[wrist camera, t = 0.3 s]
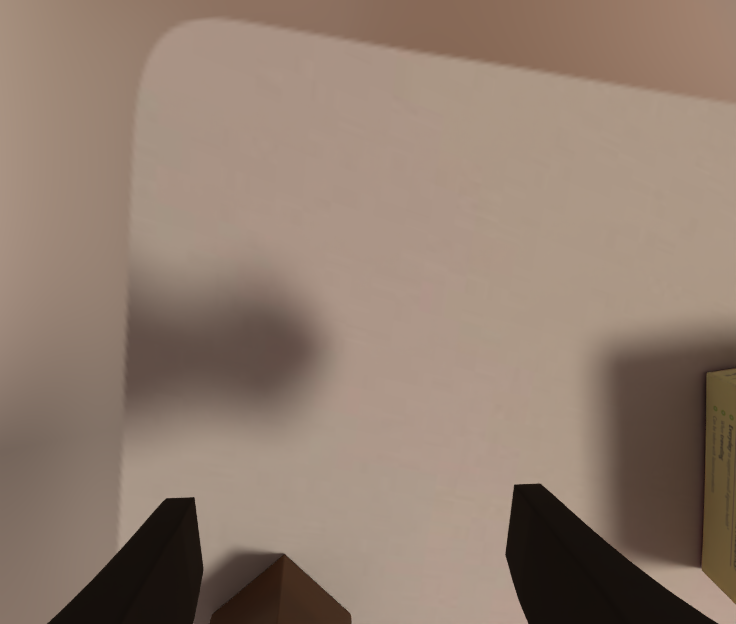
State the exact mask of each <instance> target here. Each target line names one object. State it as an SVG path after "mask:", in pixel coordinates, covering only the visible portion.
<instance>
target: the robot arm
mask: <svg viewBox="0 0 736 624" xmlns="http://www.w3.org/2000/svg"><path fill="white" fill-rule="evenodd" d="M505 555H506V558H507V562H508V566H509V569H510V573H511V576H512V580H513V583H514V586H515V590H516V593H517V596H518V599H519V602H520V604H521V607H522V609H523V612H524V614H525V617H526V619H527V621H528V624H718V623H716V622H715V621H713V620H711V619H710V618H708V617H707V616H705V615H704V614H702V613H701V612H699V611H698V610H696V609H695V608H694V607H692V606H691V605H689V604H688V603H686V602H685V601H683V600H682V599H680V598H679V597H677V596H676V595H674V594H673V593H672V592H670V591H669V590H667V589H666V588H665V587H663V586H662V585H660V584H659V583H658V582H656V581H655V580H654V579H652V578H651V577H650V576H649V575H647V574H646V573H645V572H643V571H642V570H641V569H639V568H638V567H637V566H636V565H634V564H633V563H632V562H630V561H629V560H628V559H627V558H625V557H624V556H623V555H622V554H621V553H619V552H618V551H617V550H616V549H614V548H613V547H612V546H611V545H610V544H608V543H607V542H606V541H605V540H604V539H603V538H601V537H600V536H599V535H598V534H597V533H596V532H594V531H593V530H592V529H591V528H590V527H589V526H588V525H586V524H585V523H584V522H583V521H582V520H581V519H580V518H578V517H577V516H576V515H575V514H574V513H573V512H572V511H571V510H569V509H568V508H567V507H566V506H565V505H564V504H563V503H562V502H561V501H559V500H558V499H557V498H556V497H555V496H554V495H553V494H552V493H551V492H549V491H548V490H547V489H546V488H545V487H544V486H542V485H541V484H519V485H514V491H513V499H512V507H511V515H510V523H509V530H508V538H507V546H506V554H505ZM202 575H203V561H202V553H201V546H200V538H199V530H198V522H197V514H196V506H195V498H194V497H190V498H166V499H165V500H164V501H163V502H162V503H161V504H160V505H159V506H158V508H157V509H156V510H155V511H154V512H153V513H152V514H151V516H150V517H149V518H148V519H147V520H146V521H145V523H144V524H143V525H142V526H141V527H140V528H139V529H138V531H137V532H136V533H135V534H134V535H133V536H132V537H131V539H130V540H129V541H128V542H127V543H126V544H125V545H124V546H123V548H122V549H121V550H120V551H119V552H118V553H117V554H116V555H115V556H114V557H113V558H112V559H111V560H110V562H109V563H108V564H107V565H106V566H105V567H104V568H103V569H102V570H101V571H100V572H99V573H98V575H97V576H96V577H95V578H94V579H93V580H92V581H91V582H90V583H89V584H88V585H87V586H86V587H85V588H84V589H83V590H82V591H81V592H80V593H79V594H78V595H77V596H76V597H75V598H74V599H73V600H72V601H71V602H70V603H69V604H67V606H65V608H63V609H62V610H61V611H60V612H59V613H58V614H57V615H56V616H55V617H54V618H53V619H52V620H51V621H50V622H49V623H47V624H193V621H194V617H195V612H196V607H197V602H198V597H199V592H200V586H201V580H202Z"/></svg>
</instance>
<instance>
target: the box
mask: <svg viewBox="0 0 736 624" xmlns="http://www.w3.org/2000/svg"><path fill="white" fill-rule="evenodd" d="M706 395H707V396H706V456H705V497H704V525H703V549H702V557H701V560H702V571H703V572H704V573H705V574H706V575H707V576H708V577H709V578H710V579H711V580H712V581H713V582H714V583H715V584H716V585H717V586H718V587H719V588H720V589H721V590H722V591H723V592H724V593H725V594H726V595H727V596H728V597H729V598H730V599H731V600H732V601H733V602H734V603H735V604H736V368H733V369H726V370H720V371H714V372H708V373H707V375H706Z"/></svg>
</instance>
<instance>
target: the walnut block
mask: <svg viewBox="0 0 736 624" xmlns="http://www.w3.org/2000/svg"><path fill="white" fill-rule="evenodd" d="M210 624H351V614H350V613H349V612H347V611H346V610H345V609H344V608H343V607H342V606H341V605H340V604H339V603H338V602H336V601H335V600H334V599H333V598H332V597H331V596H330V595H329V594H328V593H327V592H325V591H324V590H323V589H322V588H321V587H320V586H319V585H318V584H317V583H316V582H314V581H313V580H312V579H311V578H310V577H309V576H308V575H307V574H306V573H305V572H303V571H302V570H301V569H300V568H299V567H298V566H297V565H296V564H295V563H293V562H292V561H291V560H290V559H289V558H288V557H287V556H286V555H283V556H282V557H281V558H280V559H279V560H277V561H276V562H275V563H274V564H273V565H271V566H270V567H269V568H268V569H267V570H265V571H264V572H263V573H262V574H261V575H259V576H258V577H257V578H256V579H254V580H253V581H252V582H251V583H250V584H248V585H247V586H246V587H245V588H244V589H242V590H241V591H240V592H239V593H238V594H236V595H235V596H234V597H233V598H232V599H230V600H229V601H228V602H227V603H226V604H224V605H223V606H222V607H221V608H220V609H218V610H217V611H216V612H215V613H214V614H212V616H211V620H210Z"/></svg>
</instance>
